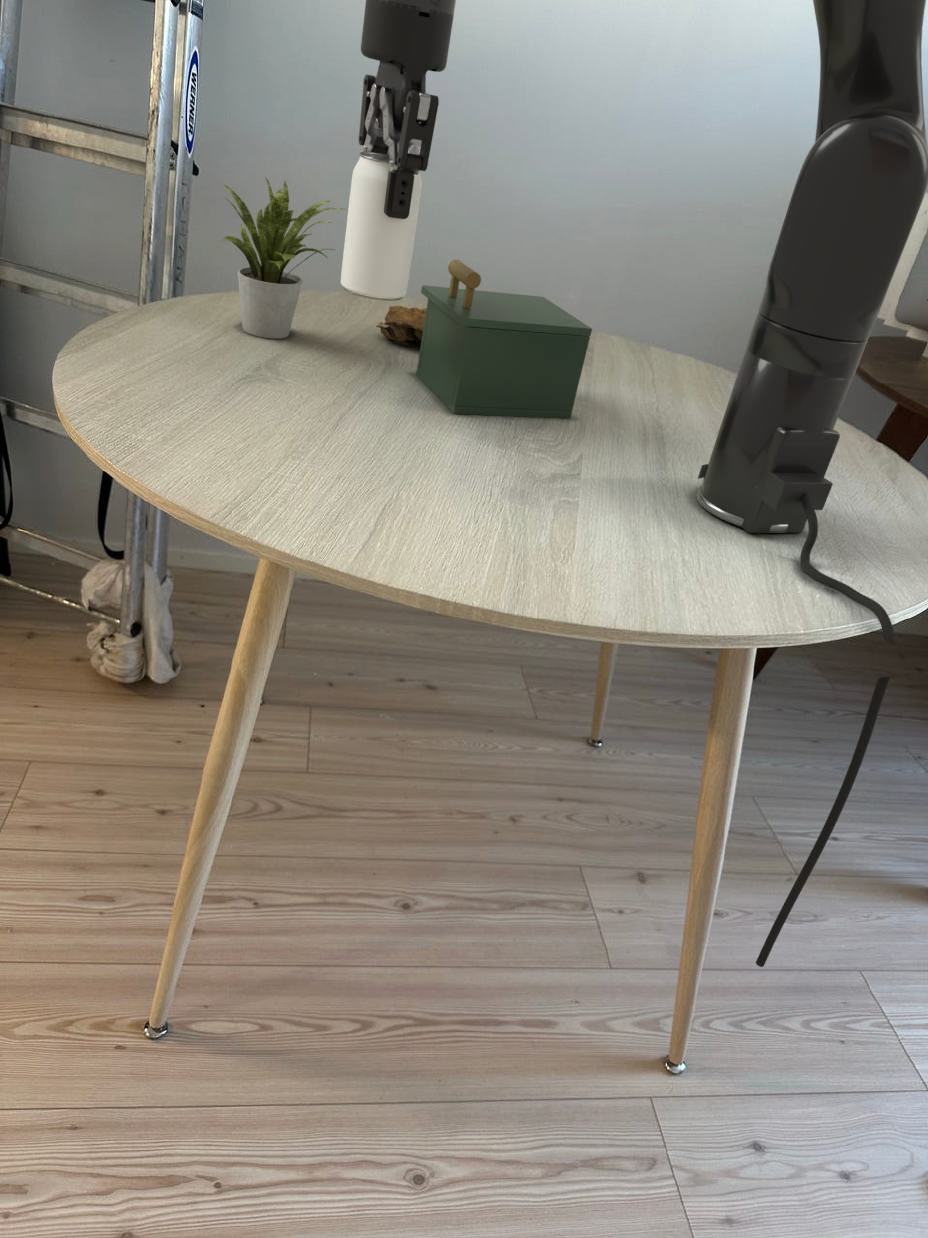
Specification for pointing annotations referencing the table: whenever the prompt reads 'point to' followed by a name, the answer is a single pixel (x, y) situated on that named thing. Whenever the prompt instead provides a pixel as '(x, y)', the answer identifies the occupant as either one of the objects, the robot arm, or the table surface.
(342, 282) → the can
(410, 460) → the table surface
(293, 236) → the house plant
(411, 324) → the brown tree bark piece
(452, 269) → the bread bin lid
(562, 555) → the table surface
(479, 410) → the bin
